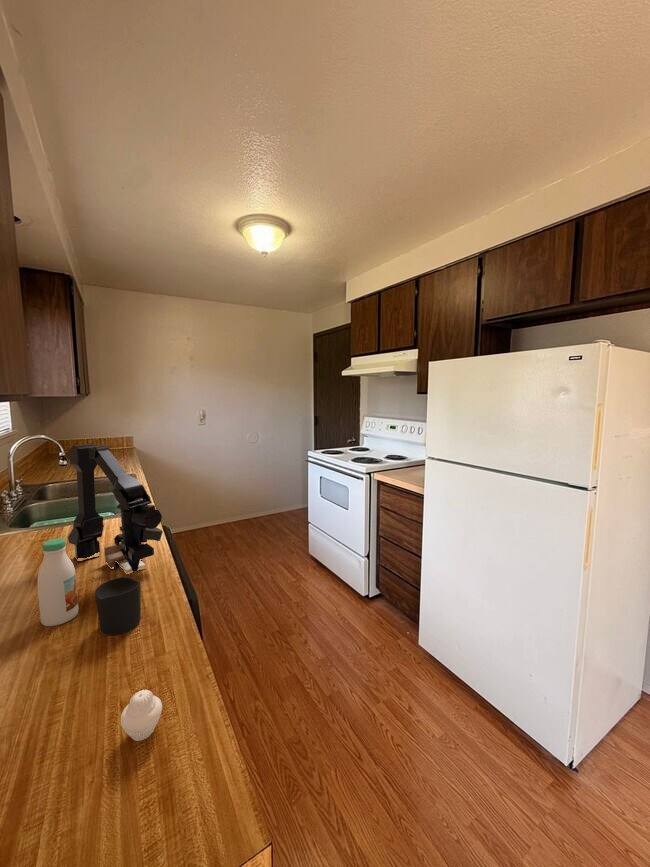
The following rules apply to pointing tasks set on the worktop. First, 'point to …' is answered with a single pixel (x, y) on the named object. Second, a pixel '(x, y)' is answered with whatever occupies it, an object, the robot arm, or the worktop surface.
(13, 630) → the worktop surface
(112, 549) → the l-shaped bracket
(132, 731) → the white rounded lump
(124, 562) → the tile
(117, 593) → the pen holder
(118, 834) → the worktop surface
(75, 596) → the milk bottle
